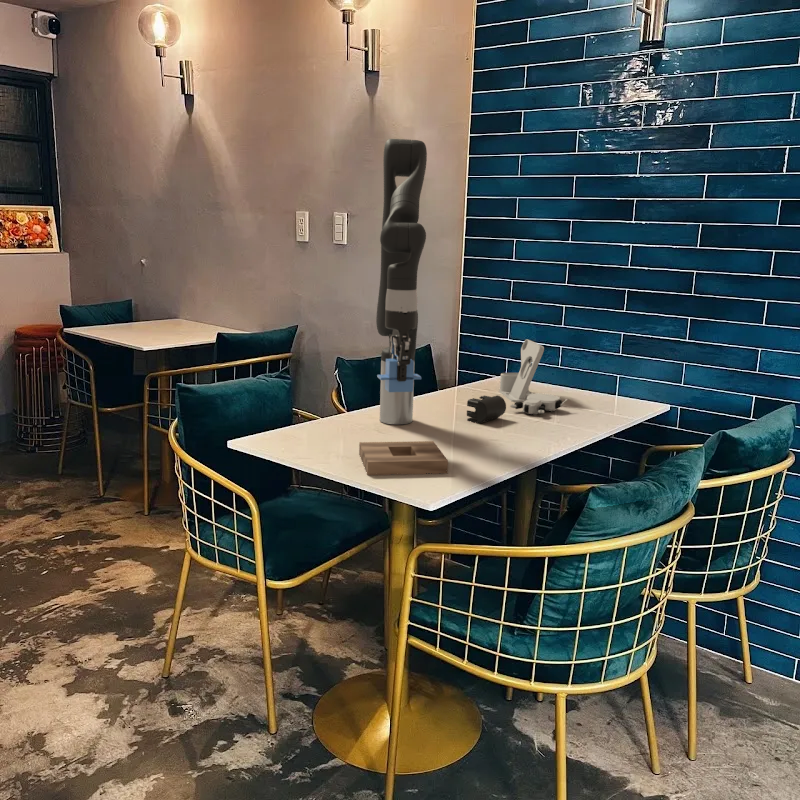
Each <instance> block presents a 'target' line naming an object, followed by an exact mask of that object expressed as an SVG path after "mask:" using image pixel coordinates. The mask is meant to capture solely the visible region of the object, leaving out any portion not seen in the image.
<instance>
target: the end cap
mask: <svg viewBox="0 0 800 800" xmlns="http://www.w3.org/2000/svg"><path fill="white" fill-rule="evenodd" d="M466 407H470V408H473V409H474V411H473V410H466V417H468V418H466V419H467V420H466V421H467V422H470V421H471V423H475V422H476V424H482V423H485V422H488V421H489V422H490V421H492V420H496V419H498V418H500V417H502V416H503V415H504V414H505V413H506V410H507V403H506V401H505V399H504V398H503V397H502V396H500V395H493V396H489V395H480V396H479V398H476V397H474V398H469V399H468V400H467V403H466Z"/></svg>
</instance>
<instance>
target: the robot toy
mask: <svg viewBox="0 0 800 800" xmlns="http://www.w3.org/2000/svg"><path fill="white" fill-rule="evenodd" d="M567 401H568V398H566V399H565V400H564V401H562V398H561V397H560V396H557V395H554V394H549V393H542V392H535V393H534V392H531V394H530V395H529V396H527V397H526V401H524V402H514V404H513V403H512V404H510V406H509V407H510V408H512V409H515V410H519V409H522V413H525V414H528V415H532V414H533V416H534V415H538V414H540V415H544V414H545V412H546V411H547V412H549V411H551V412H552V411H553V412H554V411H556V410H557V409H559V408H562V406H563V405H564V404H565V403H566V402H567ZM551 412H550V413H551Z"/></svg>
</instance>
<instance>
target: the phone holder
mask: <svg viewBox="0 0 800 800" xmlns="http://www.w3.org/2000/svg"><path fill="white" fill-rule="evenodd" d="M544 351H545V347H544V345H541V344H540V343H537V342H536V341H533V340H530V339H525V340H524V341H523V343H522V345H521V347H520V369H519V372H502V373H500V378H499V379H500V381H499V389H498V392H499V394H501V395H502V396H504V397H505V398H506V399H507V400H508V401H510V402H512V403H516V402H522V403H524V401H526V397H527V396H529V395H530V394H531V393H532V392H531V391H530V390H529V389H530V388H529V387H530V385H531V383H532V380H533V378H534V376H535V373H536V371H537V368H538V367H539V366H538V365H539V364H540V361H541V359H542V357H543V354H544Z"/></svg>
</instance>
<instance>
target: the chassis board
mask: <svg viewBox="0 0 800 800" xmlns="http://www.w3.org/2000/svg"><path fill="white" fill-rule="evenodd" d="M358 447H359V448H358V449H359V450H358V451H359V453H358V455H359V458H360V457H361V458H360V461H361V462H363V463H362V464H363V468H364V467H365V468H364V470H365V473H366V472H367V473H366V475H367V476H383V475H384V476H385V475H386V476H387V475H389V476H390V475H391V474H395V475H430V474H431V473H432V474H433V475H434V474H435V475H436V474H437V475H438V474H439V473H441V474H448V466H449V460H448V458H447V457H446V456H445V454H444V453H443V452H442V450H441V449H440V447H439V446H438V445H437V444H436V443H435V441H434V440H428V441H427V440H426V441H419V440H418V441H417V440H416V441H364V442H363V441H360V442H359V446H358ZM426 473H427V474H426ZM428 473H430V474H428ZM432 474H431V475H432Z"/></svg>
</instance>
